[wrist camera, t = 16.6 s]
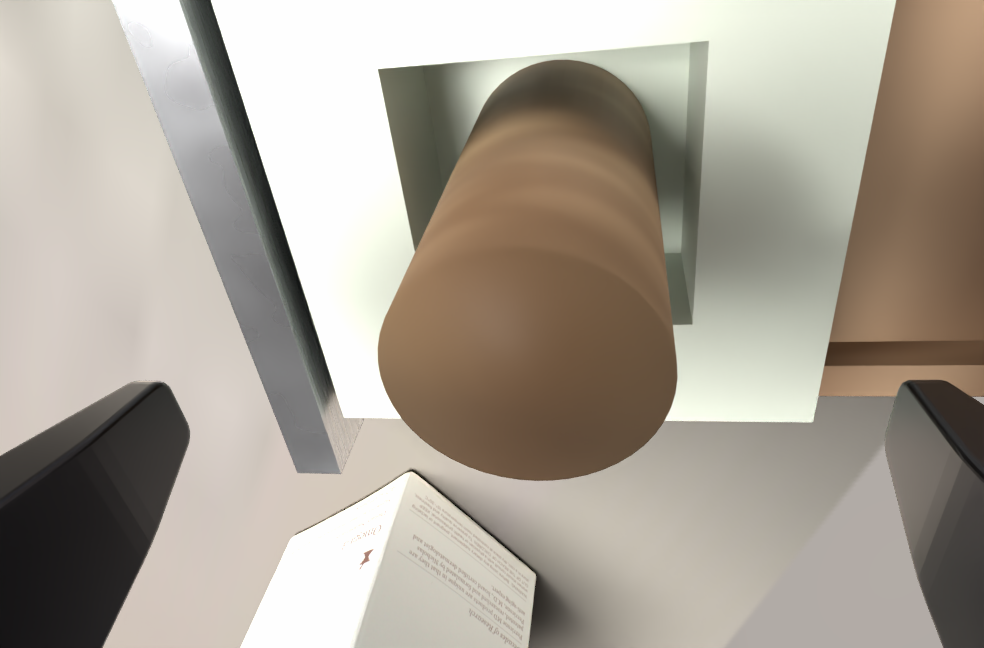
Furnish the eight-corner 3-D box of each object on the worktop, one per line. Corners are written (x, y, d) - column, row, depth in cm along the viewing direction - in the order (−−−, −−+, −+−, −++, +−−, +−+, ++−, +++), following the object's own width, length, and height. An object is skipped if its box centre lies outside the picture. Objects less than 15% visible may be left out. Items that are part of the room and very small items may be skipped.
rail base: (1730, -435, 10) (2499, -615, 6) (1243, 348, 18) (1427, 502, 14) (199, -187, 14) (36, -192, 10) (354, 355, 22) (297, 473, 18)
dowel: (652, 51, 14) (684, 240, 8) (650, 226, 16) (672, 484, 10) (462, 67, 15) (346, 251, 9) (484, 232, 17) (407, 476, 11)
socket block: (860, -187, 12) (933, -191, 9) (782, 332, 18) (812, 421, 15) (266, -106, 14) (182, -90, 11) (380, 337, 20) (343, 417, 17)
